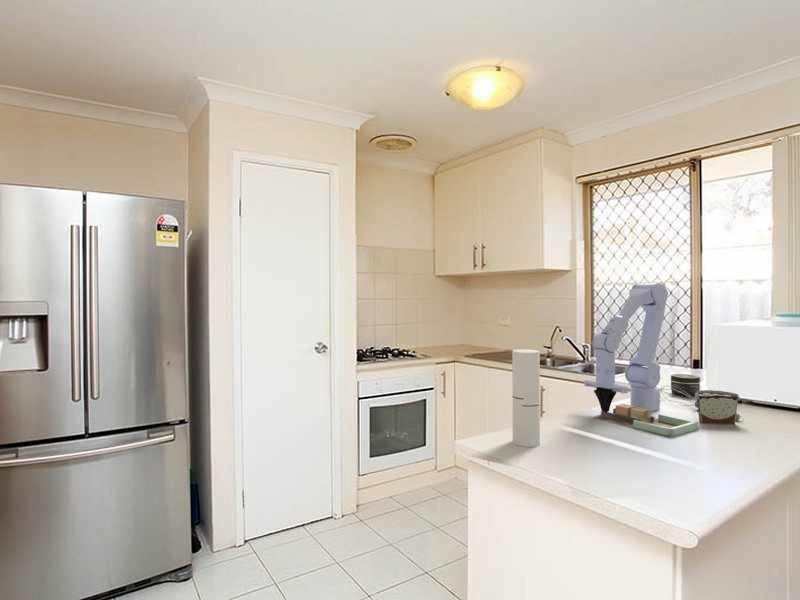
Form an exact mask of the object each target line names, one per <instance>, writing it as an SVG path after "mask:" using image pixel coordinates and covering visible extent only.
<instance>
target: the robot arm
mask: <svg viewBox="0 0 800 600" xmlns="http://www.w3.org/2000/svg"><path fill="white" fill-rule="evenodd" d="M628 292H629V293H628V295H629V297H628V298H627V299H626V302H625V304H624V305H623V306H622V308H621V310H620V311H619V314H618V315H614V316H612V317H610V318H609V321H608V322H607V323H606V326H604V328H603V329H602V330H601V332H599V333H597V334H596V335H594V336H593V339H592V341H591V346H592V349H593V350H594V355H595V380H591V379H587V380H584V382H583V383H584V387H590V388H595V389H594V390H593V393H594V394H595V396H596V398H597V401H598V403H599V406H600V410H601V411H605V412H609V413H610V408H611V405H612V402H613V399H614V398H615V396H616V395H617V393H621V394H628V392H629V387H628V386H625V385H621V384H617V383H615V382H616V367H615V366H616V361H615V360H616V358H615V357H616V351H617V350H619V348H620V342H621V338H622V336H623V335H624V333H625V332H626V330H627V329H628V328H629V325H630V324H629V320H630V319H631V318H632V317H633V316H634V315H635V313H636V312H637V311H638V310H639V309H640V308H642V309H643V310H644V311H645V316H644V321H643V326H642V330H641V334H640V335H641V336H640V340H639V344H638V347H637V348H638V349H637V353H636V355H635V357H633V358H631V359H630V360H629V362H628V363H629V364H628V365H627V367H626V369H625V370H624V371H625V372H624V377H625V379H626V381H627V382H628V385H630V405H631V406H635V408H636V407H641V408H645V409H650V410H651V413H652V412H655V411H658V410H660V408H661V397H660V396H661V394H660V392H661V391H659V390H660V389H659V388H657V386H658V385H659V383H660V380H661V373H660V372H661V366H660V364H659V363H658V362H657V361H656V360H655V359H656V358H655V357H656V354H657V353H656V352H657V350H658V349H657V348H658V344H659V340H660V336H661V335H660V334H661V330H662V326H663V320H664V317H665V311H666V305H667V300H668V295H669V292H668V290H667V288H666V285H664V284H663V283H662V282H657V283H656V282H655V283H652V282H651V283H640V282H639V283H635V284H634V285H632V287H631V289H630V290H629V291H628ZM601 411H600V412H601Z"/></svg>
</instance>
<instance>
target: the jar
mask: <svg viewBox="0 0 800 600" xmlns="http://www.w3.org/2000/svg"><path fill="white" fill-rule="evenodd" d="M673 386H674V387H673ZM670 387H671V388H670V389H672V388H673V390H670V391H671V394H673V396H674V395H675V396H676V395H677V396H678V397H682V396H683V397H682V398H689V396H690V398H691V396H692V398H695V394H696V392H697V391H701V377H700V376H699V375H695V374H686V373H674V374H671V375H670ZM676 387H677V388H676ZM678 388H679V389H678ZM674 389H675V390H674ZM680 389H681V390H680ZM676 390H677V391H676ZM682 390H683V391H682ZM679 391H680V392H682V393H683V394H682V393H680V392H679ZM684 391H685V392H686V393H685V392H684ZM687 393H688V394H689V395H688V394H687ZM684 394H685V395H684ZM686 395H687V396H686ZM677 396H676V397H677Z"/></svg>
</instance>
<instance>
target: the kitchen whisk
mask: <svg viewBox="0 0 800 600" xmlns="http://www.w3.org/2000/svg"><path fill="white" fill-rule="evenodd" d="M666 387H667V388H666ZM673 387H674V386H673ZM660 388H661V389H658V390H659V392H660V400H661V399H662V401H664V402H665V400H668V402H669V401H670V402H676V403H678V401H676V400H672V399H668V398H667V397H665V395H664V394H667V395H669V396H672V397H675V398H678V399H681V400H683V401H687V402H685V404H684V402H682V401H679V403H681V406H685V407H695V408H697V409H698V405H697V400H695V399H694V398H693V397H692V396H691V397H690V396H689V397H688V398H690V399H691V400H689V399H686V398H685V397H682V396H676V395H674V394H673V393H669V392H667V391H666V390H668V391H669V390H670V391H671V390H673V388H672V389H671V386H670V385H665V386H662V385H661V386H660ZM663 388H666V389H663ZM676 388H677V387H676ZM678 389H679V388H678ZM674 390H675V389H674ZM680 390H681V389H680ZM676 391H677V390H676ZM682 391H683V390H682ZM679 392H680V391H679ZM684 392H685V391H684ZM663 393H664V394H663ZM680 393H682V392H680ZM685 393H686V392H685ZM661 394H662V396H663V397H662V396H661ZM682 394H683V393H682ZM687 394H688V393H687ZM684 395H685V394H684ZM688 395H689V394H688ZM686 396H687V395H686ZM664 399H665V400H664ZM688 402H689V403H688ZM690 403H691V404H690ZM682 404H683V405H682ZM741 418H742V421H741V423H742V422H744V418H743V417H742V415H740V414H739V413H738V412H737V413H736V420H738V421H740V419H741Z"/></svg>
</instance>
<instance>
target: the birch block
mask: <svg viewBox="0 0 800 600" xmlns="http://www.w3.org/2000/svg"><path fill="white" fill-rule="evenodd" d="M651 416H652V412H651V410H650V409H645V408H641V407H636V408H631V418H635V419H639V420H642V422H646V423H651Z"/></svg>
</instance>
